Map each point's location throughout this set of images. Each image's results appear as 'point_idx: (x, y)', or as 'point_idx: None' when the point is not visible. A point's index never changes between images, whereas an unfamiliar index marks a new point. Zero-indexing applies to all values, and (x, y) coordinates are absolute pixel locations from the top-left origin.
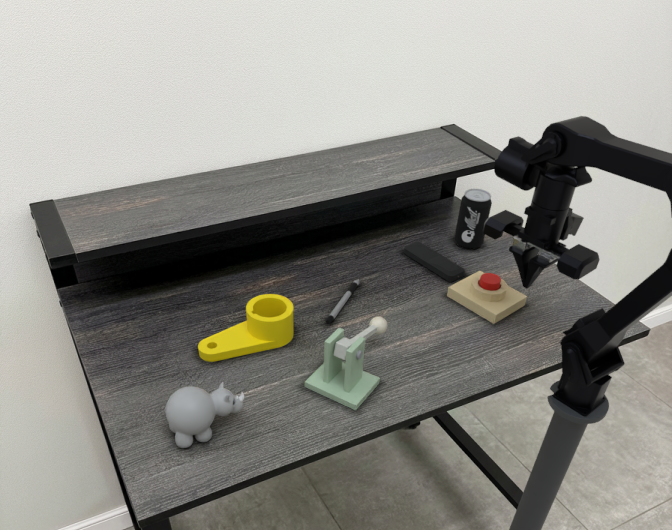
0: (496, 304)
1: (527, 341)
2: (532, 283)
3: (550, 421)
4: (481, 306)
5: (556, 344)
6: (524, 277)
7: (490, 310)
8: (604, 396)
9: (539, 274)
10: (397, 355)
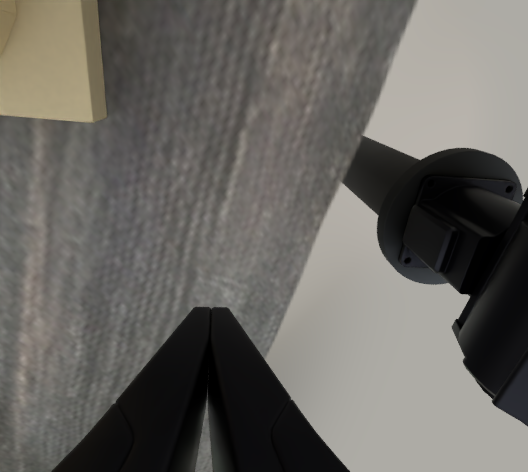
0: (34, 50)
1: (245, 115)
2: (237, 323)
3: (372, 203)
4: (11, 115)
5: (325, 51)
6: (197, 446)
7: (56, 113)
8: (508, 172)
9: (275, 378)
10: (61, 402)
